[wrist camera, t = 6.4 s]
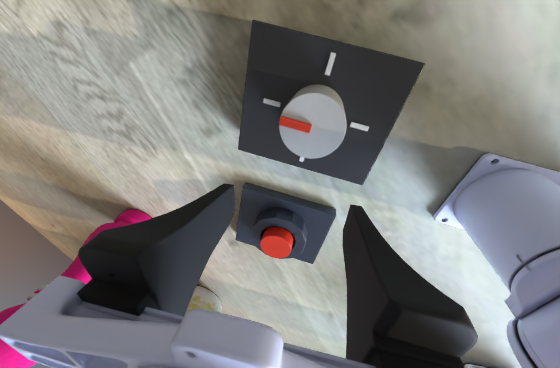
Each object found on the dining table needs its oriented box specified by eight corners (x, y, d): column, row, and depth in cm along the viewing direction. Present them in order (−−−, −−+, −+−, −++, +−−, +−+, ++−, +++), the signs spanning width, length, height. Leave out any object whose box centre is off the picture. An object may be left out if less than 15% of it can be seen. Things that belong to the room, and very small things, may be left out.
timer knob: (353, 92, 16) (358, 104, 13) (332, 146, 19) (332, 168, 15) (295, 77, 16) (286, 85, 13) (282, 132, 19) (272, 150, 16)
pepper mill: (138, 242, 37) (-19, 401, 21) (111, 209, 34) (-103, 365, 17) (171, 239, 35) (25, 415, 18) (145, 203, 32) (-62, 377, 15)
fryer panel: (412, 60, 17) (427, 63, 14) (359, 170, 22) (363, 186, 20) (263, 23, 18) (251, 19, 15) (247, 138, 23) (237, 150, 20)
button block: (336, 209, 25) (336, 226, 23) (313, 257, 30) (311, 275, 28) (246, 182, 26) (237, 196, 24) (238, 233, 31) (230, 250, 29)
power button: (296, 231, 25) (294, 241, 24) (289, 251, 27) (287, 261, 26) (266, 222, 25) (262, 231, 24) (261, 243, 27) (257, 252, 26)
